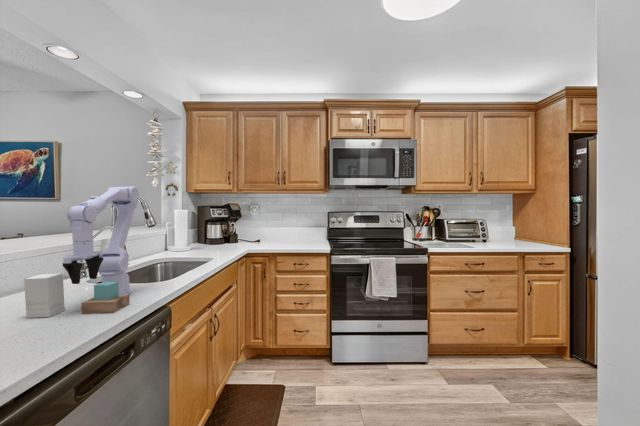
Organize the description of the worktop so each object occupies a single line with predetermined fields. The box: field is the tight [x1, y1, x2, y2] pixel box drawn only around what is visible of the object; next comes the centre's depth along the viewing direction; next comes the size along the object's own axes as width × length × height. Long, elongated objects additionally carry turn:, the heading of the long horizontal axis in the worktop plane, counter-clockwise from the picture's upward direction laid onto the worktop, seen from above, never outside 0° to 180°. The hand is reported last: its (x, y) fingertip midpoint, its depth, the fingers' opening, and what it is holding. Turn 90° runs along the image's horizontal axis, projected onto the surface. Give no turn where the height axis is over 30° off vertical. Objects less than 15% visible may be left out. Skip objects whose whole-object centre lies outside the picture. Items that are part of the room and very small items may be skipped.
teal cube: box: [93, 282, 119, 300], centre depth 117 cm, size 5×5×5 cm
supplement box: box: [23, 273, 66, 319], centre depth 113 cm, size 7×7×13 cm
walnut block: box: [80, 294, 130, 315], centre depth 117 cm, size 10×10×4 cm
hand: (84, 281), depth 118 cm, fingers open, 7 cm apart
